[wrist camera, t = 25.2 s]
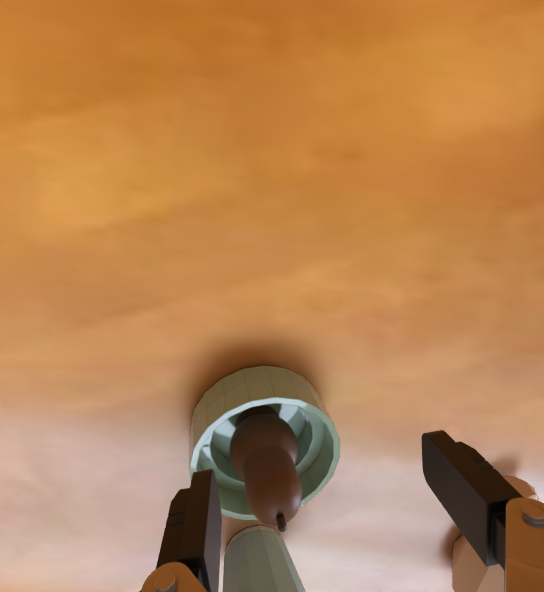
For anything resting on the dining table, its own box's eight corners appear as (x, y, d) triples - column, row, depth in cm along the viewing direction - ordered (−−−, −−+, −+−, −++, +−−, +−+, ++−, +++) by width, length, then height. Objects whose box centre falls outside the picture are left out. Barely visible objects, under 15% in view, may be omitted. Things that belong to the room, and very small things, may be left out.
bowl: (205, 353, 32) (207, 389, 27) (336, 371, 36) (359, 406, 31) (179, 468, 36) (176, 518, 31) (300, 475, 39) (315, 521, 34)
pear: (234, 394, 34) (251, 495, 23) (295, 400, 35) (336, 498, 25) (220, 447, 35) (230, 562, 25) (279, 451, 37) (311, 561, 27)
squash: (432, 586, 51) (467, 662, 43) (447, 460, 47) (488, 516, 38) (508, 584, 52) (559, 659, 43) (529, 459, 47) (590, 514, 39)
